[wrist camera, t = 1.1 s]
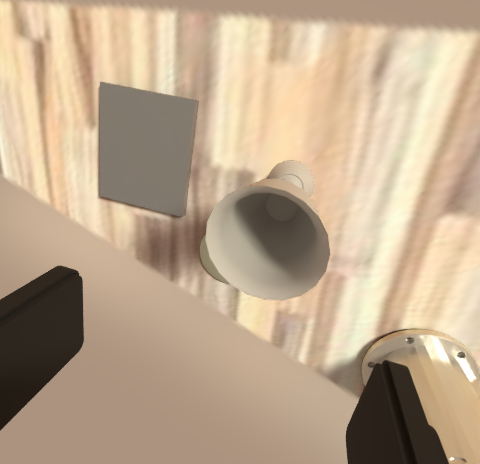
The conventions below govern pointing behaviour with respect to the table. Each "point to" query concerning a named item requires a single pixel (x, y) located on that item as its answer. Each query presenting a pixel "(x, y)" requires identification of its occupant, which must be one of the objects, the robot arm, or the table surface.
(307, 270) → the chalice
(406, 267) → the table surface
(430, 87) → the table surface
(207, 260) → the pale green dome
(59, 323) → the robot arm
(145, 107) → the slate board
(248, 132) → the table surface
